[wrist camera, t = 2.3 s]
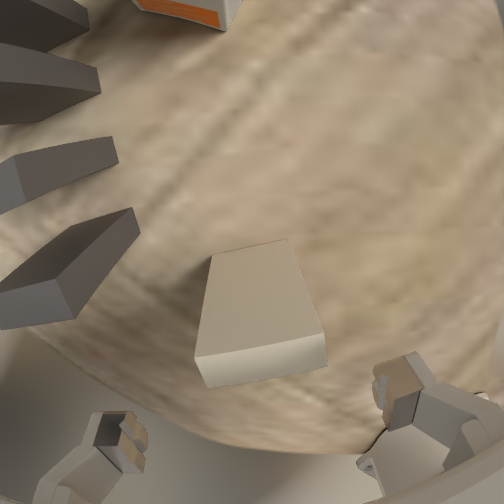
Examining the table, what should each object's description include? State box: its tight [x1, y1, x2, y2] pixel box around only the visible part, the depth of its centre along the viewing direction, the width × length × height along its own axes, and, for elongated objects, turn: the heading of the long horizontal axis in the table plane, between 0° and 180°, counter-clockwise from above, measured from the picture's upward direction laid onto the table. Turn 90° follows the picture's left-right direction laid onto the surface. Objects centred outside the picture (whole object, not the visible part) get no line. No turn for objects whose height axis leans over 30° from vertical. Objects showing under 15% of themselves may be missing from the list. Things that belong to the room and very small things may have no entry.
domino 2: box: [0, 43, 101, 125], centre depth 12 cm, size 2×5×10 cm, turn 102°
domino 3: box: [0, 136, 119, 215], centre depth 14 cm, size 2×5×10 cm, turn 103°
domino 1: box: [0, 0, 90, 53], centre depth 10 cm, size 2×5×10 cm, turn 102°
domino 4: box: [0, 207, 140, 330], centre depth 15 cm, size 2×5×10 cm, turn 103°
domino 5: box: [194, 239, 328, 389], centre depth 17 cm, size 2×5×10 cm, turn 103°
